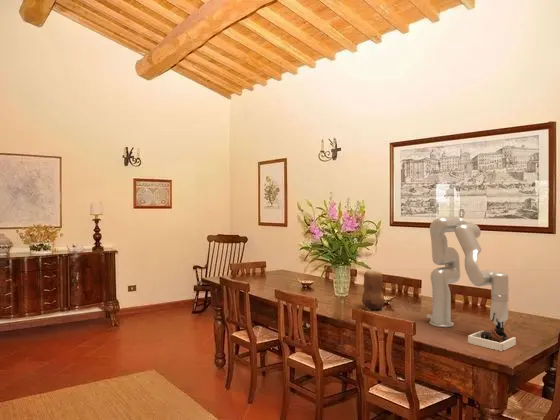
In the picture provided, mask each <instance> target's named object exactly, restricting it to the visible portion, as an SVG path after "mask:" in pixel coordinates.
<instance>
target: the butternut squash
mask: <svg viewBox="0 0 560 420" xmlns="http://www.w3.org/2000/svg"><path fill="white" fill-rule="evenodd" d="M382 290H383V275H382V272H380V271H379V270H373V269H368V270H366V271H365V272H364V273H363V293H362V297H361V298H362V299H361V303H362V304H363V306H364V307H365V308H367V309H369V310H371V311H378V310H379V309H382V308H383V307H384V305H385V296H384V293H383V291H382ZM377 309H378V310H377Z"/></svg>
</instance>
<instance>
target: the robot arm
mask: <svg viewBox="0 0 560 420" xmlns="http://www.w3.org/2000/svg"><path fill="white" fill-rule="evenodd" d="M445 233H454V234H455V237H456V239H457V240H458V243H459V245H460V247H461V249H462V252H463V253H464V254H463V255H464V271H465V273H466V275H467V277H468V279H469V281H470V283H472V285H474V286H475V287H478V288H479V287H486V286H490V287H491V291H490V292H491V294H490V295H491V301H490V303H491V304H490V309H489V310H490V312H489V321H491V322H492V323H493V325H494V326H495V327H494V328H497V329H500V330H502V331H503V332H504V333H505V323H506V322H507V320H508V319H509V275H508V273H506V272H499V271H498V272H497V271H494V270H492V269H487V270H486V269H485V270H481V269H480V268H479V265H478V263H477V262H478V259H477V258H478V256H479V255H480V253H481V252H482V247H481V245H480V244H479V241H478V238H480V236H481V228H480V227H479V226H478V225H477V224H476V223H473V222H472V221H469V220H466V219H464V218H461V217H459V216H441V217H437V218H435V219H433V221H432V222H431V223H430V226H429V235H430V240H431V241H430V242H431V257H432V262H433V263H434V264H435V265H436V266H437V265H438V266H440V267H437V268H434V269H433V270H432V271H431V272H430V282H431V288H432V289H431V290H432V291H431V292H432V294H431V296H432V314H430V313H428V314H426V318H427V319H430V321H429V325H431V326H434V327H438V328H439V327H440V328H450V327H451V328H452V327H454V322H453V321H451V311H452V308H451V307H452V306H451V305H452V304H451V303H452V302H451V301H452V299H451V295H452V294H451V290H450V287H449V285H450V284H451V285H452V284H455V283H457V282H459V280H460V278H461V264H460V254H459V253H458V251H457V250H456V249H455V248H454V247H450V246H448V245H449V244H448V238H447V235H446V234H445ZM442 266H443V267H442ZM495 333H496V334H497V335H499V336H500V337H503V335H502V334H499V333H497V331H495Z"/></svg>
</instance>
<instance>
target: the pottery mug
mask: <svg viewBox="0 0 560 420" xmlns="http://www.w3.org/2000/svg"><path fill="white" fill-rule="evenodd" d="M496 331H497V333H499V334H502V335H503V336H499V335H497V334H496ZM484 335H485V337H484ZM481 338H482V339H486V340H491V341H492V339H493V338H494V339H496V340H497V341H499V343H501V342H504V341H506V340H508V335H507V334H506V332H505V331H504V332H503V331H502V330H500V329H497V328H496V327H494V328H492V329H490V330H488V331H485V330H484V332H482V333H481ZM501 338H502V339H501Z"/></svg>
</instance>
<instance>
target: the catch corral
mask: <svg viewBox="0 0 560 420" xmlns="http://www.w3.org/2000/svg"><path fill="white" fill-rule="evenodd" d="M484 331H485V330H483V329H482V330H480V331H476V332H474V333H472V334H469V335H467V343H468V344H470V345H474V346H479V347H483V348H487V349H491V350H494V349H495V350H494V351H498V350H499V351H498V352H503V350H504V351H506V350H508V349H510V348H512V347H514V346H517V340H516V339H517V338H516V337H513V336H512V337H511V338H507V340H506V341H504V342H501V343H499V342H500V341H499V342H498V341H494V340H492V339H491V340H486V339H482V338H481V333H482V332H484ZM484 337H485V335H484Z"/></svg>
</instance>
